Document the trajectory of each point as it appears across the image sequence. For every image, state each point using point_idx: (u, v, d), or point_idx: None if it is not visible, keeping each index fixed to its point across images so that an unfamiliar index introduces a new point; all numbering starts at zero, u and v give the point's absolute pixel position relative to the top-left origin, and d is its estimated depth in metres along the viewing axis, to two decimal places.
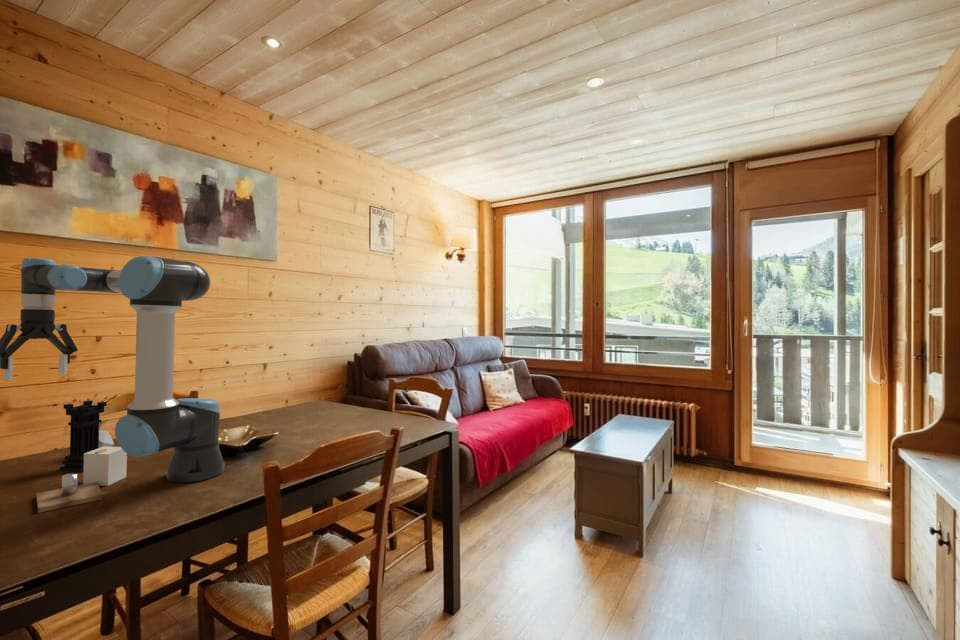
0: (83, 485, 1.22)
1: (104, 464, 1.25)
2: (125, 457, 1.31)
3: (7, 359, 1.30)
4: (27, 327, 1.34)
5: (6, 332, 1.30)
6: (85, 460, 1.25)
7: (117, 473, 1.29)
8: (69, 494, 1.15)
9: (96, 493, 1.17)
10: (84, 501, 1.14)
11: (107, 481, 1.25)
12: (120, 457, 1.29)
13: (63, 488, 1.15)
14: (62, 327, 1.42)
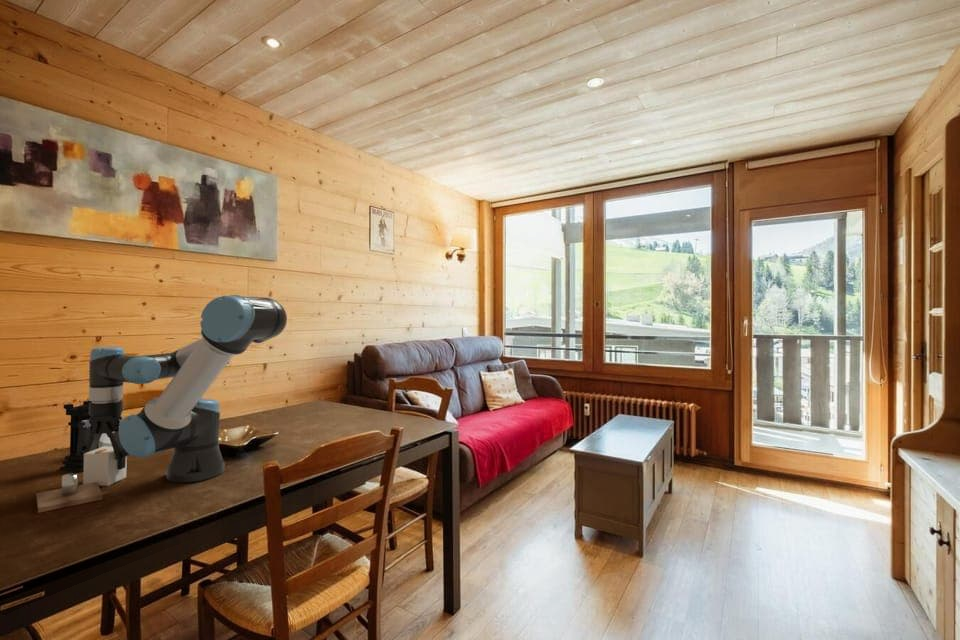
0: (83, 485, 1.22)
1: (104, 464, 1.25)
2: None
3: None
4: (91, 421, 1.27)
5: None
6: (85, 460, 1.25)
7: None
8: (69, 494, 1.15)
9: (96, 493, 1.17)
10: (84, 501, 1.14)
11: (107, 481, 1.25)
12: None
13: (63, 488, 1.15)
14: None
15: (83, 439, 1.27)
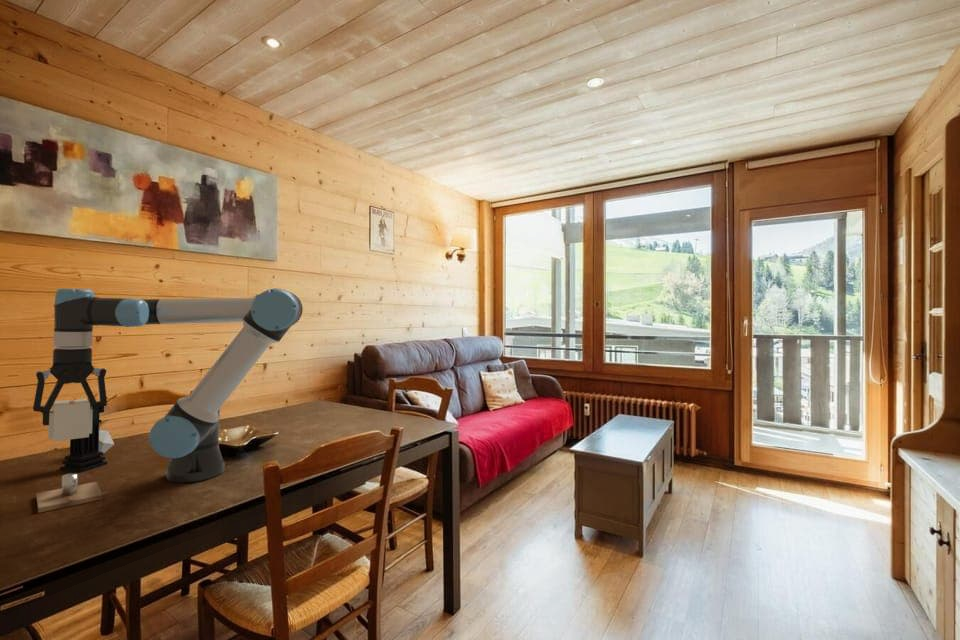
0: (83, 485, 1.22)
1: (83, 414, 1.16)
2: None
3: (48, 414, 1.13)
4: (56, 370, 1.13)
5: None
6: (56, 413, 1.12)
7: None
8: (69, 494, 1.15)
9: (96, 493, 1.17)
10: (84, 501, 1.14)
11: (88, 432, 1.17)
12: None
13: (63, 488, 1.15)
14: (100, 372, 1.19)
15: (42, 392, 1.12)
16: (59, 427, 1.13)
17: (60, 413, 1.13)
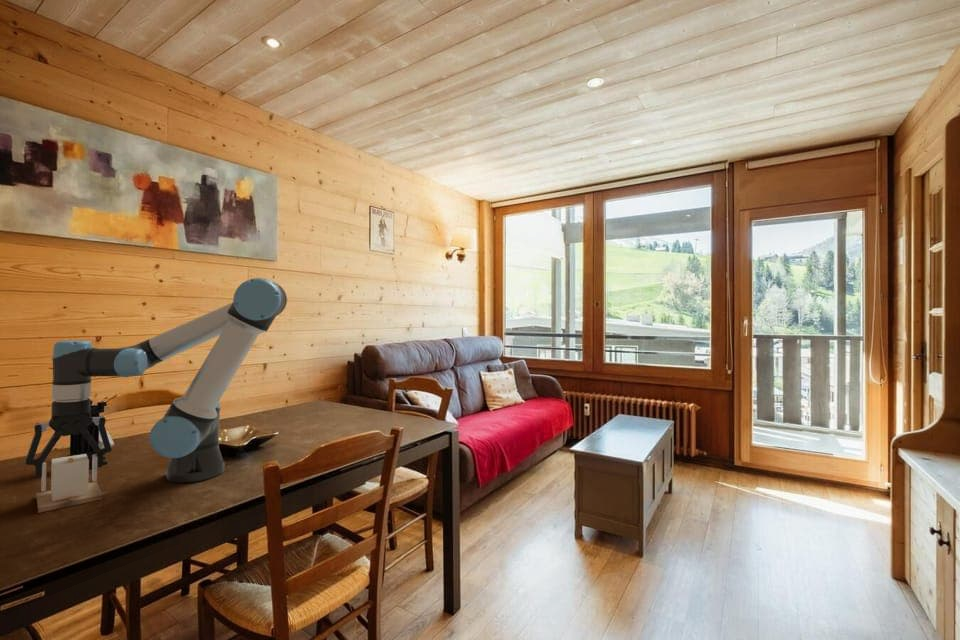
0: None
1: (82, 471, 1.16)
2: None
3: (41, 466, 1.12)
4: (55, 423, 1.13)
5: None
6: (55, 472, 1.12)
7: None
8: None
9: (96, 493, 1.17)
10: (84, 501, 1.14)
11: (87, 489, 1.17)
12: None
13: None
14: (100, 421, 1.20)
15: None
16: (58, 486, 1.13)
17: (59, 472, 1.13)
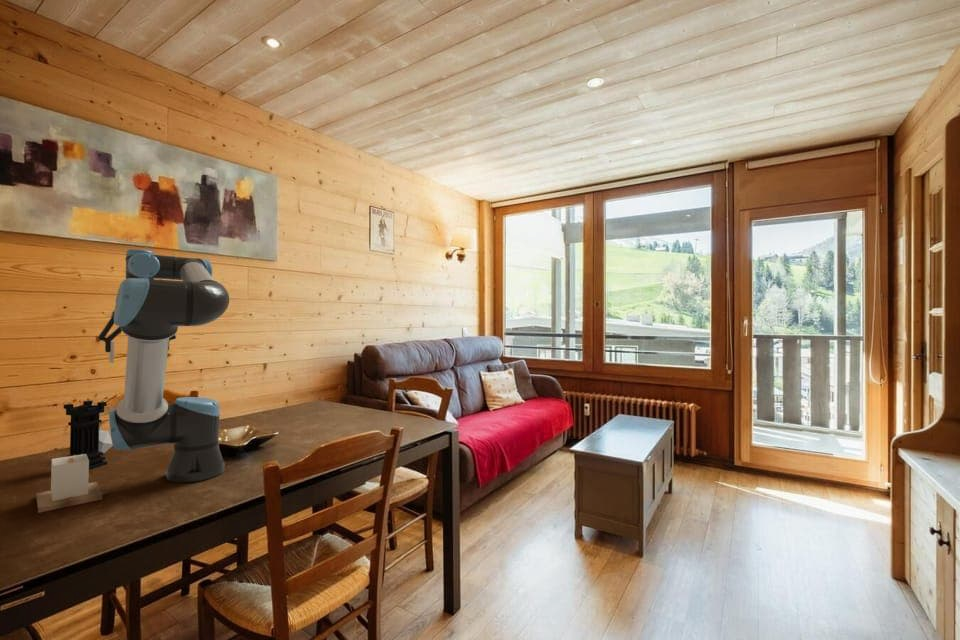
0: None
1: (82, 471, 1.16)
2: None
3: (109, 343, 1.40)
4: None
5: (111, 318, 1.41)
6: (55, 472, 1.12)
7: None
8: None
9: (96, 493, 1.17)
10: (84, 501, 1.14)
11: (87, 489, 1.17)
12: None
13: None
14: None
15: None
16: (58, 486, 1.13)
17: (59, 472, 1.13)
